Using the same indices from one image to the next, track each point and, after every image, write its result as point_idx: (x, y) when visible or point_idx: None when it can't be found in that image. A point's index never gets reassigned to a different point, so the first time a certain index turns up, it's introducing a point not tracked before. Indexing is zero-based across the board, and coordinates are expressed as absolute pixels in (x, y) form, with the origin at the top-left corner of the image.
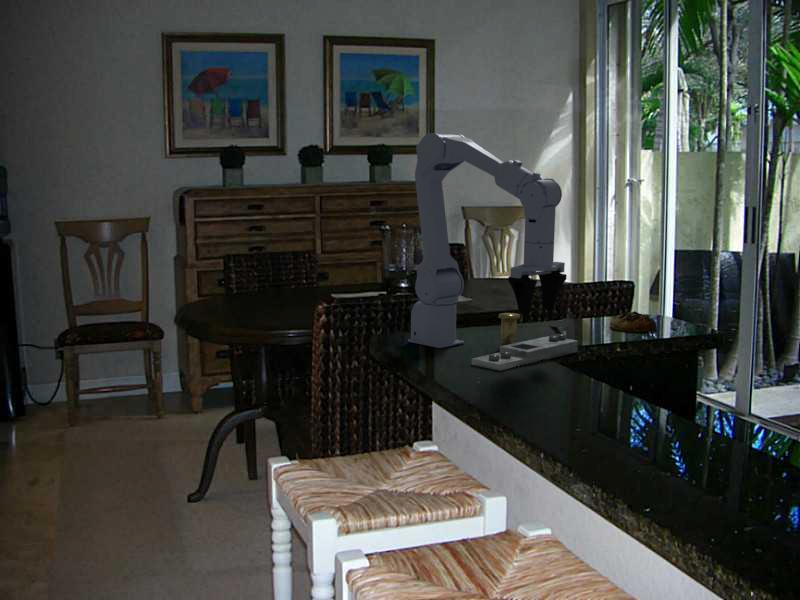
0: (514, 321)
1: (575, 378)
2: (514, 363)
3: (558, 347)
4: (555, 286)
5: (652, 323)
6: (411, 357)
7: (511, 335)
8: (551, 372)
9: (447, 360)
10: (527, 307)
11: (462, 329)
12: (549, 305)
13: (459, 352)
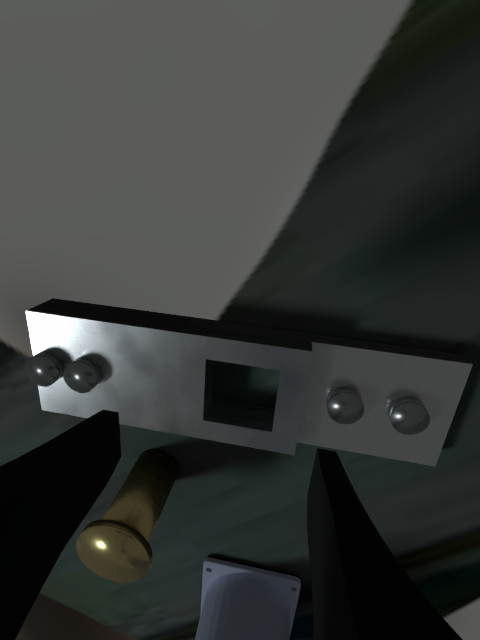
0: (123, 519)
1: (419, 70)
2: (385, 348)
3: (136, 323)
4: (5, 517)
5: None
6: (436, 590)
7: (153, 484)
8: (375, 207)
9: (413, 518)
10: (349, 484)
11: (82, 605)
12: (105, 441)
13: (300, 530)
